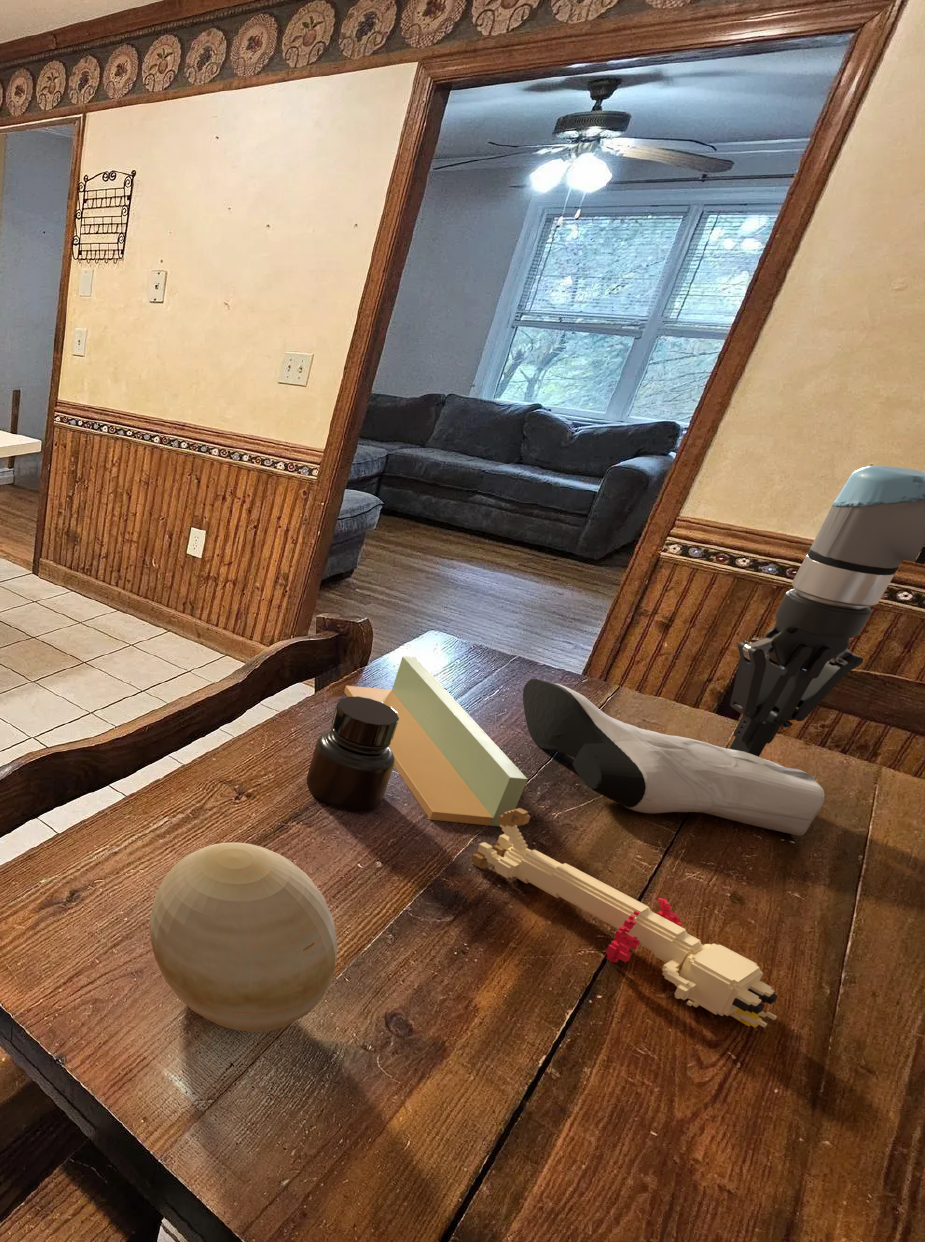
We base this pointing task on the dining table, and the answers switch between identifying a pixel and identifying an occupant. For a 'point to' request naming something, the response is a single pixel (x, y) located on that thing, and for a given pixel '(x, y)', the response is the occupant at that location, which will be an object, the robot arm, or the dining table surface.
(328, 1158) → the dining table surface
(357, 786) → the ink bottle
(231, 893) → the decorative ball
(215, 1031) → the dining table surface
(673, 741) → the grey boot
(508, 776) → the wall shelf
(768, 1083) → the dining table surface
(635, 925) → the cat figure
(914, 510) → the robot arm
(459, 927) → the dining table surface
